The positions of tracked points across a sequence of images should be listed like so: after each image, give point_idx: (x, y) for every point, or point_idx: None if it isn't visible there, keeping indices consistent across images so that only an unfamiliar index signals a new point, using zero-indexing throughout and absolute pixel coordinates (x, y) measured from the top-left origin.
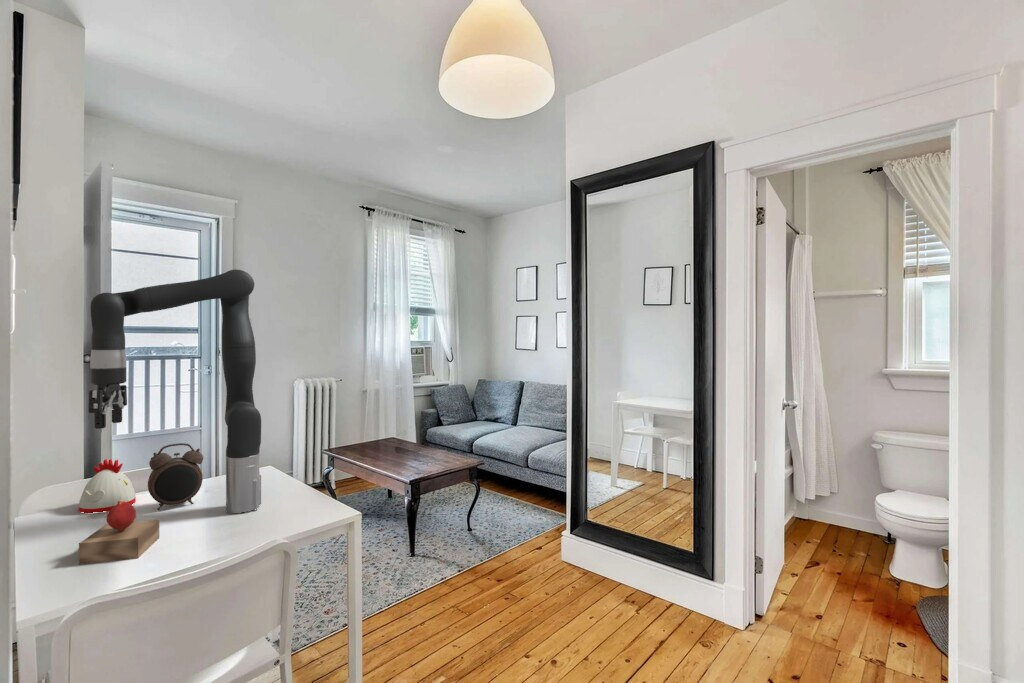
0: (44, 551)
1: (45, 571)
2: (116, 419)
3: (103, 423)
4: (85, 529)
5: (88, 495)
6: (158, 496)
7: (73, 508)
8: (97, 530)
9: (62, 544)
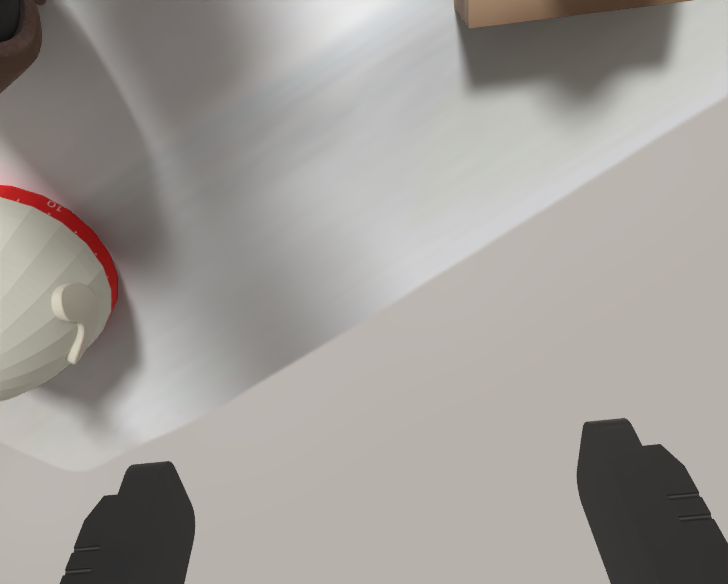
0: (482, 197)
1: (684, 74)
2: (169, 529)
3: (649, 473)
4: (283, 193)
5: (85, 335)
6: (22, 4)
7: None
8: (551, 17)
9: (428, 179)
